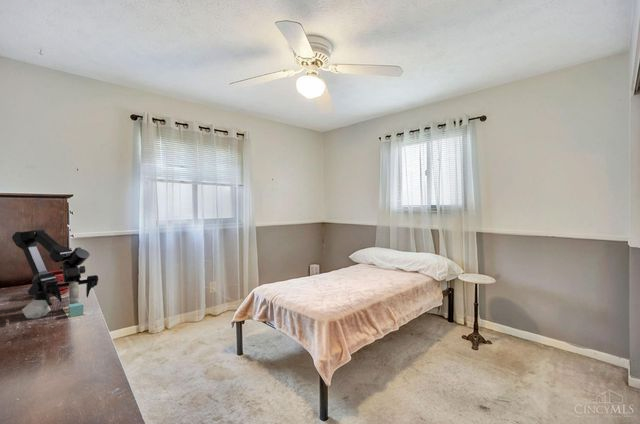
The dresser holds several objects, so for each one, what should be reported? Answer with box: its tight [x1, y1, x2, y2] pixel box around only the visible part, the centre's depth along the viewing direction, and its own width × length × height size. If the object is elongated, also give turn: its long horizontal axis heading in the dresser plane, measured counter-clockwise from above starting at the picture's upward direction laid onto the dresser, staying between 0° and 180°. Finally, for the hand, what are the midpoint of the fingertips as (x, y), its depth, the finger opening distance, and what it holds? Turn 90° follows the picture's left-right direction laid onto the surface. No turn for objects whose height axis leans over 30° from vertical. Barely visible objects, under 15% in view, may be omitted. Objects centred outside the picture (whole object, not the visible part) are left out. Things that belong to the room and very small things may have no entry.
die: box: [21, 299, 52, 319], centre depth 127 cm, size 8×9×10 cm
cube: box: [68, 302, 85, 317], centre depth 128 cm, size 4×4×4 cm
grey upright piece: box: [62, 282, 87, 320], centre depth 132 cm, size 20×6×14 cm, turn 47°
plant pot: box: [49, 269, 69, 297], centre depth 163 cm, size 13×13×12 cm
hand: (74, 299), depth 131 cm, fingers open, 9 cm apart
